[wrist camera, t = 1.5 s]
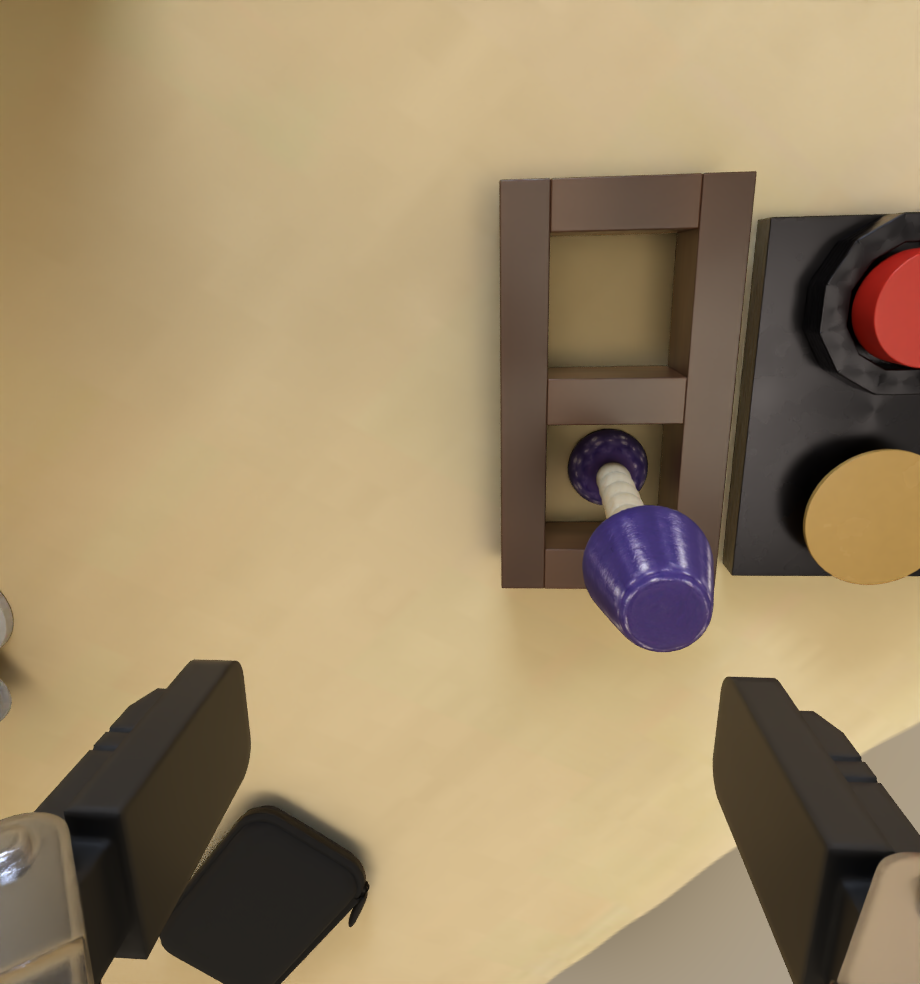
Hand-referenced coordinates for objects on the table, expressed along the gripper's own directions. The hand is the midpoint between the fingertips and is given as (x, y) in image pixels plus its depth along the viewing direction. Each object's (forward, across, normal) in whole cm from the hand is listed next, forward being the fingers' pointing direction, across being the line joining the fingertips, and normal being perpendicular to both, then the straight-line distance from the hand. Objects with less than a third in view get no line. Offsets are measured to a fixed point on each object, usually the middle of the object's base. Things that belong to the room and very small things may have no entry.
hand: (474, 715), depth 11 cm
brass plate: (+23, -19, +4) cm, 30 cm away
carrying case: (+27, +15, +34) cm, 46 cm away
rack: (+26, -6, -2) cm, 27 cm away
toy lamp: (+27, -6, +3) cm, 28 cm away
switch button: (+23, -19, -6) cm, 30 cm away
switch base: (+27, -19, -1) cm, 32 cm away
